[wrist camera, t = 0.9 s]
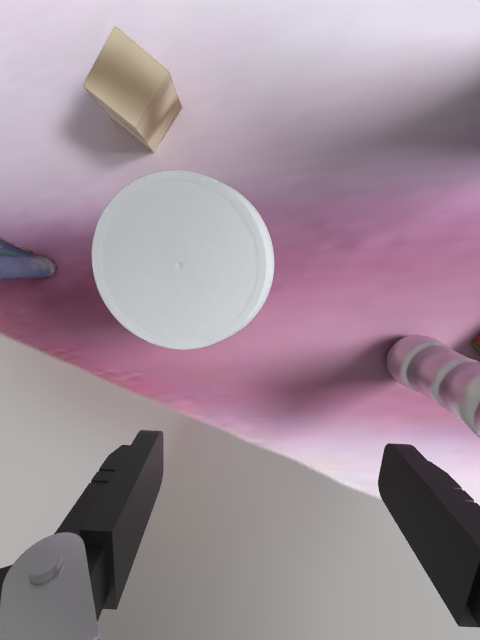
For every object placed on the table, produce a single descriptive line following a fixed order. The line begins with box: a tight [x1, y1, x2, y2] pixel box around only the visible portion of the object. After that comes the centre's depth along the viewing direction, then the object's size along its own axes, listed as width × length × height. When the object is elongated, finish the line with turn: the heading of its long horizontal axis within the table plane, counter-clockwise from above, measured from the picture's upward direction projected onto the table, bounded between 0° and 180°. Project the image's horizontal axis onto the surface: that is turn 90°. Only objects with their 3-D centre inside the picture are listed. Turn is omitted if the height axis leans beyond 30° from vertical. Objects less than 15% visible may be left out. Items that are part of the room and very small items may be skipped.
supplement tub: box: [92, 170, 274, 349], centre depth 23 cm, size 12×12×17 cm
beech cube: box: [83, 26, 182, 152], centre depth 26 cm, size 6×6×6 cm
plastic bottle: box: [387, 335, 480, 437], centre depth 24 cm, size 6×7×20 cm
